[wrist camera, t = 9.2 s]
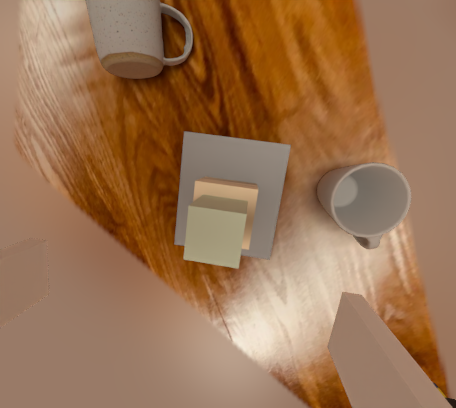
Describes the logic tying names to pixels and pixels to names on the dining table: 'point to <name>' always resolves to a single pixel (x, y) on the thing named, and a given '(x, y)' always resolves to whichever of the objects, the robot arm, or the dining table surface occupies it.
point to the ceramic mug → (133, 36)
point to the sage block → (215, 230)
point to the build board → (238, 171)
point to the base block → (231, 197)
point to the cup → (365, 200)
